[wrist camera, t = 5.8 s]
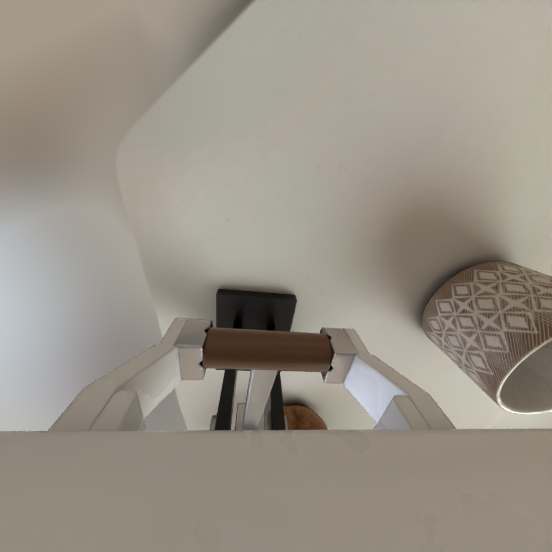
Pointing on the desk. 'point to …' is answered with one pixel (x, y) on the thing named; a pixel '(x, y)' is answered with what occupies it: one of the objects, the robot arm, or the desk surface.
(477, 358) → the planter
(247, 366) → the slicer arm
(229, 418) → the slicer
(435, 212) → the desk surface
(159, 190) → the desk surface
